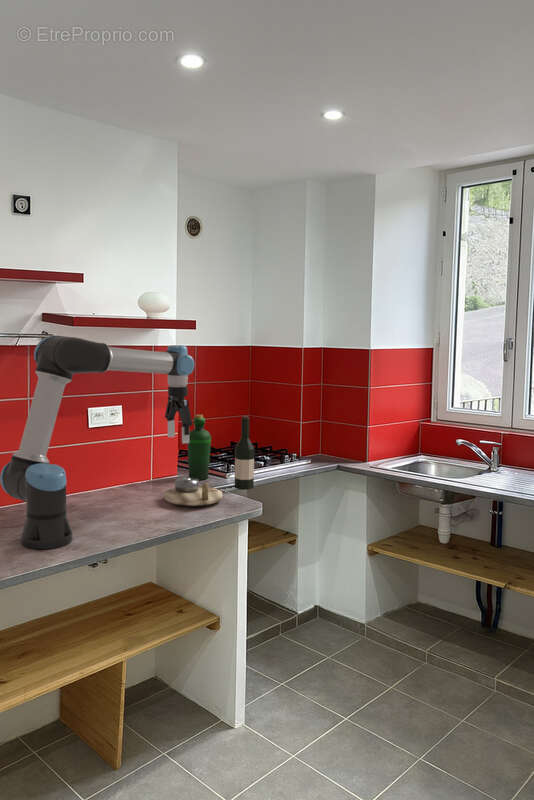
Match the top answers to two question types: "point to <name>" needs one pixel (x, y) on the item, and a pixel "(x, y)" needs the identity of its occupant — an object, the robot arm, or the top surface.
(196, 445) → the bottle
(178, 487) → the cover
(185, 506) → the turntable base
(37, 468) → the robot arm
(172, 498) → the turntable
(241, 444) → the wine bottle
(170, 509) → the top surface
